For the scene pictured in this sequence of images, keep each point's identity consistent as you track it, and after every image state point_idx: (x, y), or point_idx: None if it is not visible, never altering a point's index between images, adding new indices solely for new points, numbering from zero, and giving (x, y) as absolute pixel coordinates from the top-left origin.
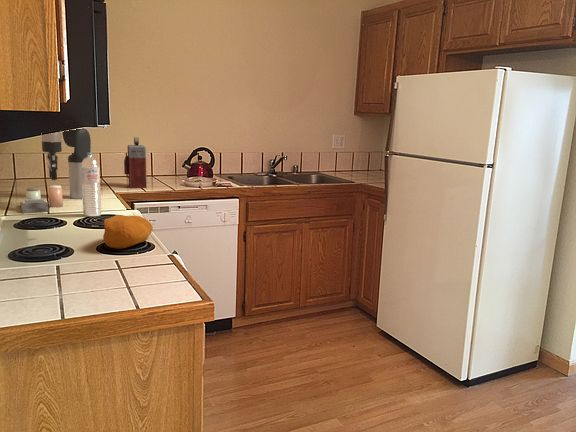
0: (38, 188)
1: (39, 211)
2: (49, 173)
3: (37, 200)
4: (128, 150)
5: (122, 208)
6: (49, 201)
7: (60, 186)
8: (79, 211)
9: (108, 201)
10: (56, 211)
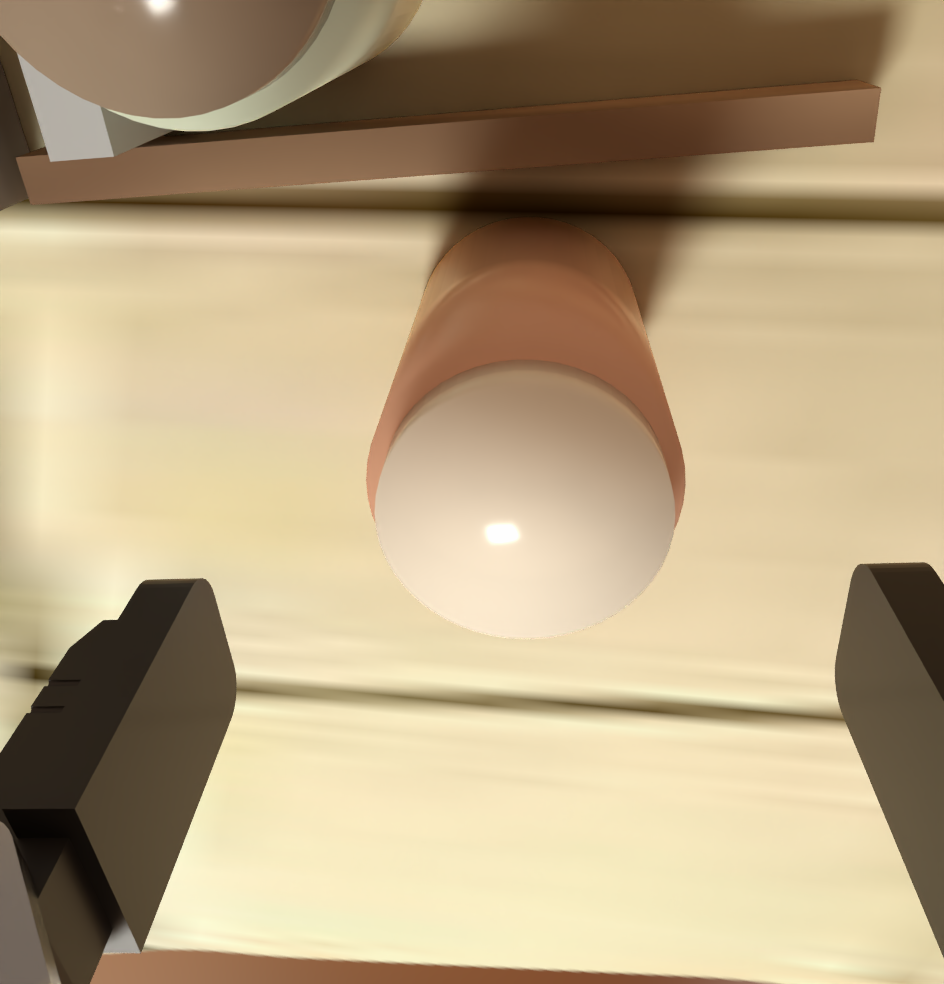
0: (79, 93)
1: None
2: (918, 657)
3: None
4: None
5: (202, 931)
6: (478, 256)
7: (464, 620)
8: (39, 583)
9: (714, 904)
10: (50, 314)
